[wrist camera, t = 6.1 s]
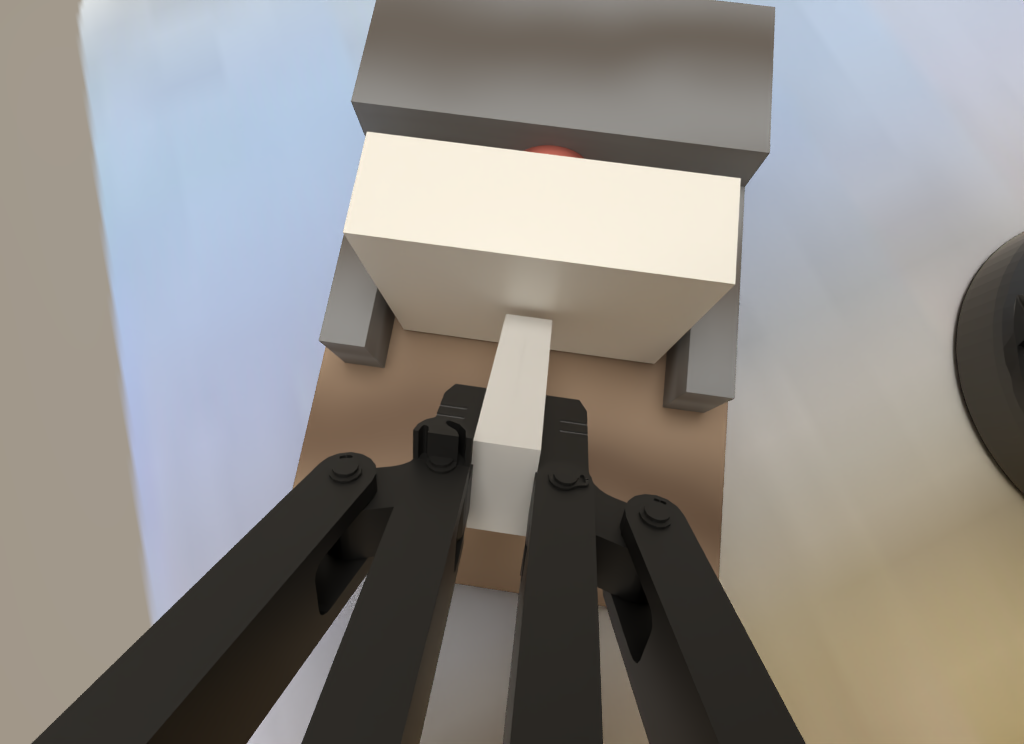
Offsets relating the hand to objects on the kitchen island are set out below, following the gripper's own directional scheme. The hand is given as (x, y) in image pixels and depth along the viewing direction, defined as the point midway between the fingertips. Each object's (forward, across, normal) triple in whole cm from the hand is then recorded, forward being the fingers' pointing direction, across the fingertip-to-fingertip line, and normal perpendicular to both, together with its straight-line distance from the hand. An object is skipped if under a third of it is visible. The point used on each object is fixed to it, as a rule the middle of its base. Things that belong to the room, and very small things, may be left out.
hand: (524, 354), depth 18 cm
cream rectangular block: (+4, 0, 0) cm, 4 cm away
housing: (+6, 0, -1) cm, 6 cm away
